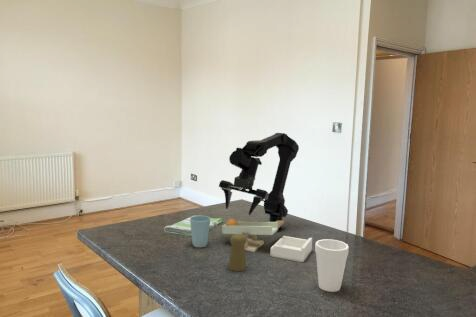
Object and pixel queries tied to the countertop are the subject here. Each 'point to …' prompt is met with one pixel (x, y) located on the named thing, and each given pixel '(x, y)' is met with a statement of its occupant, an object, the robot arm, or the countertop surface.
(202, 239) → the cup
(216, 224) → the dish towel
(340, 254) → the foam cup
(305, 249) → the bin
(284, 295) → the countertop surface
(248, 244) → the lever stand
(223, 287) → the countertop surface
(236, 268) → the olive knobbed post
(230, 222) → the ball
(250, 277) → the countertop surface
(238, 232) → the lever
